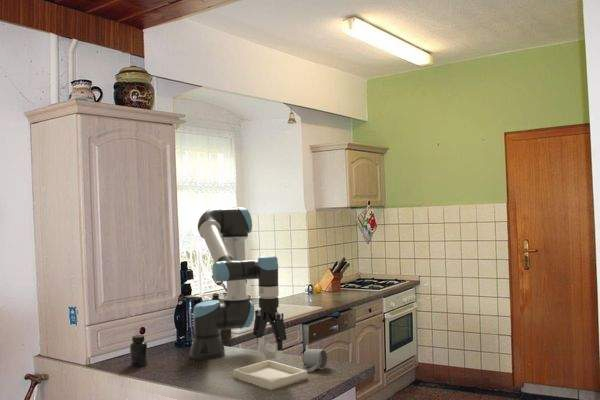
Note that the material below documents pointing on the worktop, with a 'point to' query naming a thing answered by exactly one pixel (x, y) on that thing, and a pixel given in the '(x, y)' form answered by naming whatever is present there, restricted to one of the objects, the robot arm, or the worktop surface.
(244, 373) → the tray
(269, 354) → the grey rough-textured block
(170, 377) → the worktop surface
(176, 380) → the worktop surface
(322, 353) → the ceramic mug
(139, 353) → the supplement bottle
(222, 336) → the wooden container
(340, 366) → the worktop surface
